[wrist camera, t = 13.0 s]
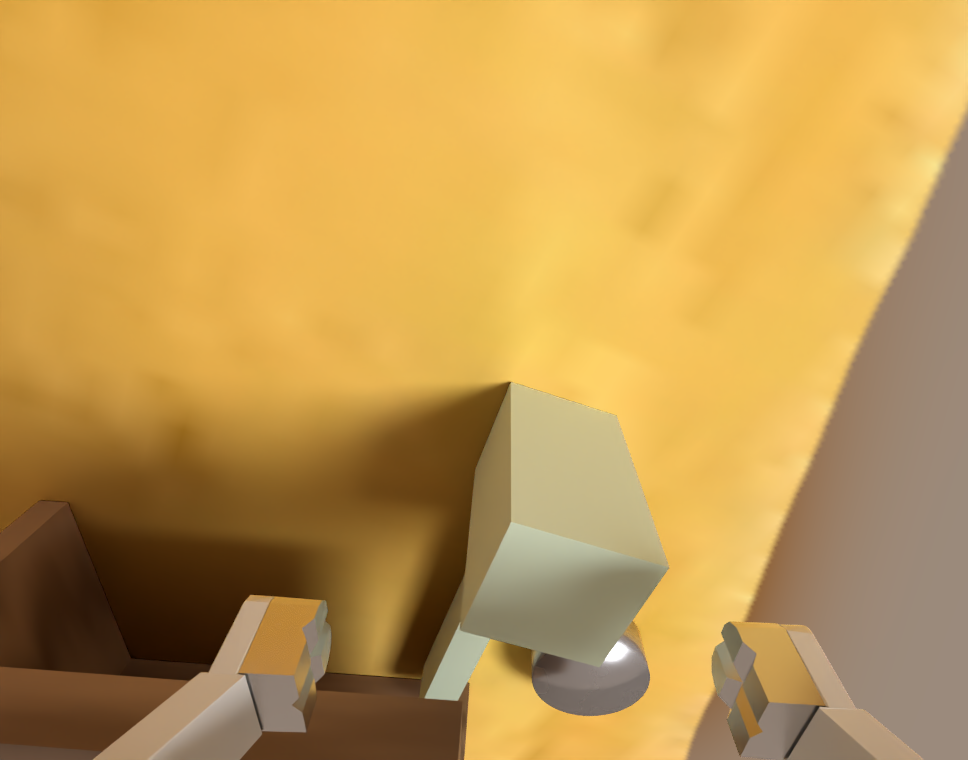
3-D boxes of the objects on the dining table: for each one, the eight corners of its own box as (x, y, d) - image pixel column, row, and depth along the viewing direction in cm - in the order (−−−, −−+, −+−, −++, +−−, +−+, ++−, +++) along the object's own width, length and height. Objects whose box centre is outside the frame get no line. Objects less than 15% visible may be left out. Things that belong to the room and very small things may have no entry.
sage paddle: (510, 382, 18) (511, 521, 12) (616, 415, 19) (669, 567, 13) (398, 658, 26) (362, 836, 19) (476, 678, 26) (466, 858, 20)
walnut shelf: (39, 500, 22) (-232, 725, 14) (476, 530, 22) (456, 779, 14) (113, 671, 27) (-54, 908, 19) (468, 698, 27) (449, 951, 19)
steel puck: (561, 586, 23) (566, 625, 21) (660, 622, 24) (672, 664, 22) (512, 654, 25) (512, 694, 23) (605, 685, 26) (612, 728, 24)
